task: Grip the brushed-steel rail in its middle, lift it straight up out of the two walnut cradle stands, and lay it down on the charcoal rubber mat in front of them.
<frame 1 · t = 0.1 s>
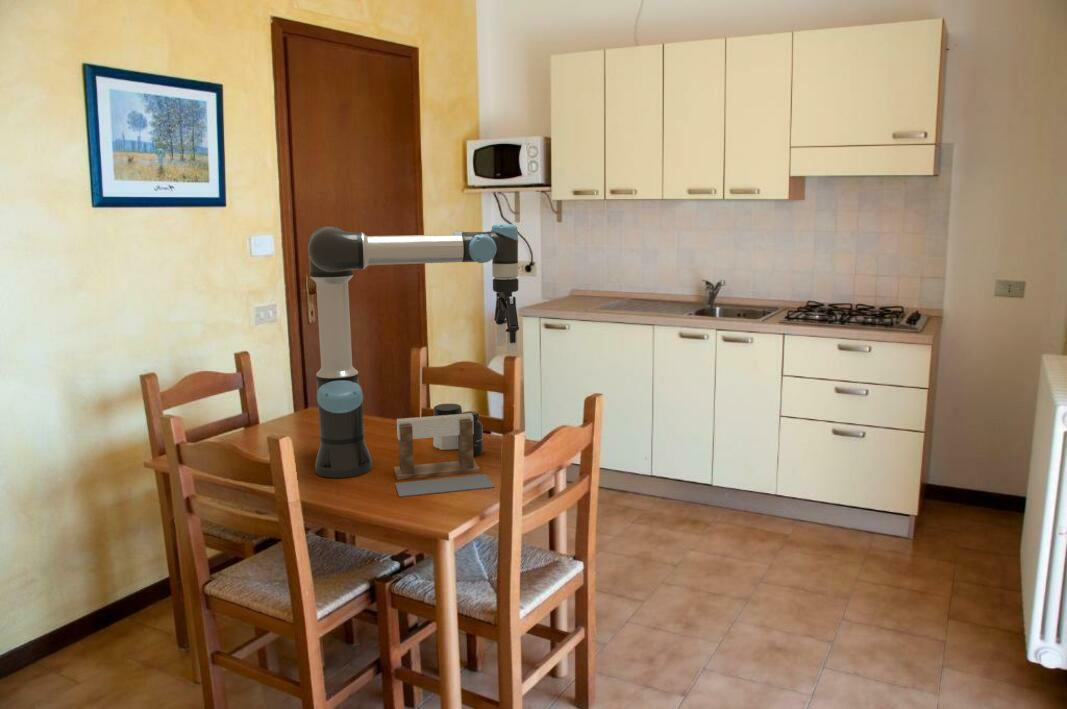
hand: (506, 349, 250), 28 cm above the table, tool pointing down, fingers open, 13 cm apart
supplement bottle: (471, 454, 243), on the table
mat: (444, 485, 216), on the table
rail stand: (436, 471, 228), on the table
rail: (435, 435, 226), point 10 cm above the table, touching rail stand
jar: (448, 446, 250), on the table
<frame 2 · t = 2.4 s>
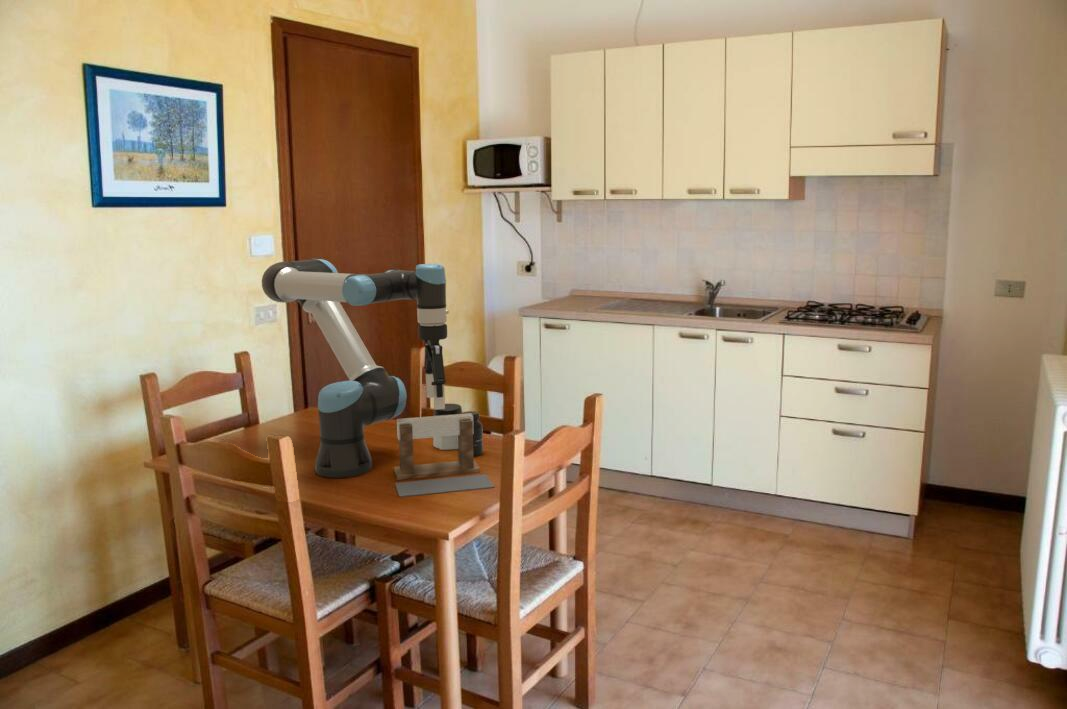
hand: (435, 403, 224), 19 cm above the table, tool pointing down, fingers open, 13 cm apart
nothing on the table moved.
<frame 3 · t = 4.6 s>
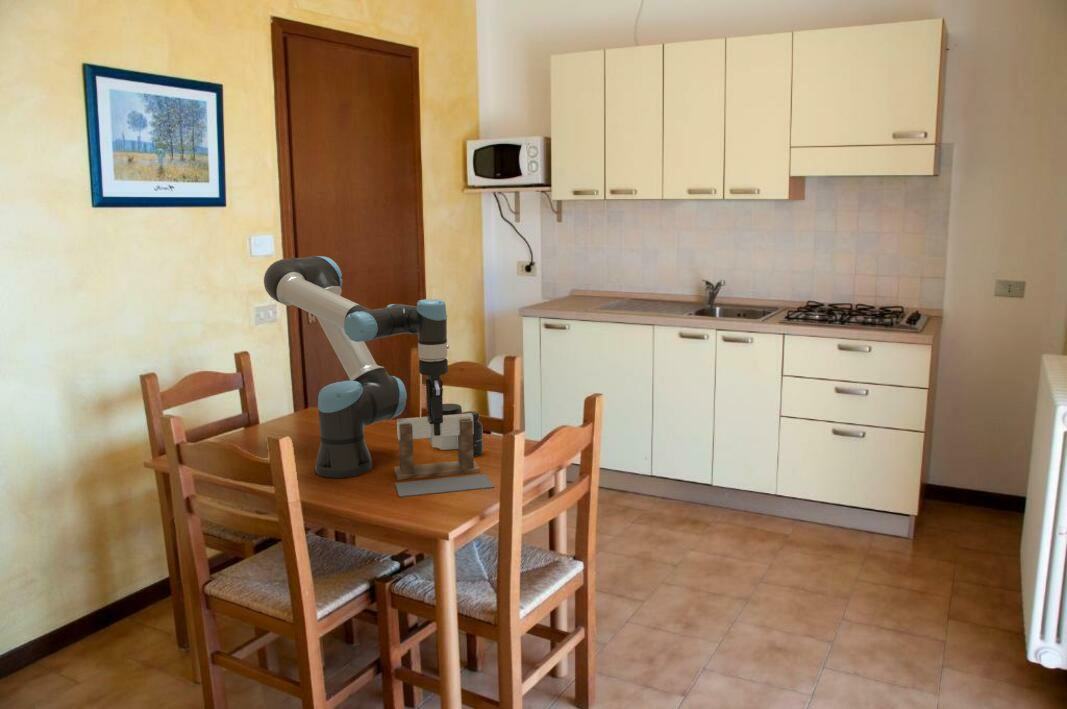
hand: (435, 444, 226), 8 cm above the table, tool pointing down, fingers closed on rail, 3 cm apart
rail: (435, 435, 226), point 10 cm above the table, touching gripper, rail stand
everything else where it was.
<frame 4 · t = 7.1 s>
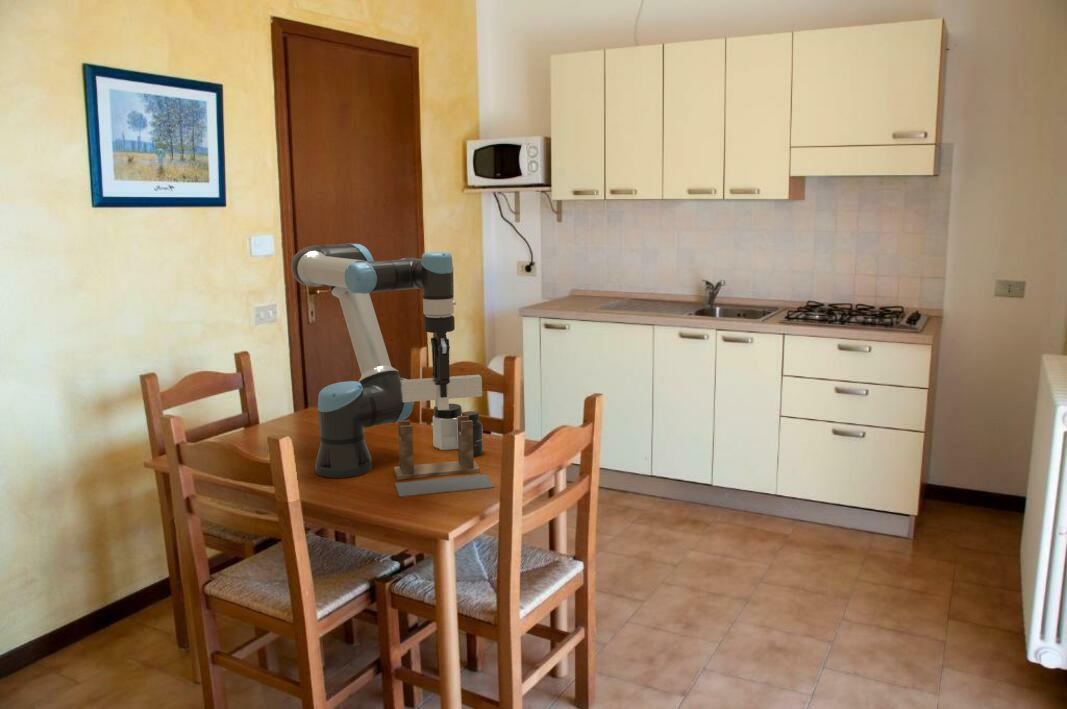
hand: (442, 407, 213), 21 cm above the table, tool pointing down, fingers closed on rail, 3 cm apart
rail: (441, 397, 212), point 23 cm above the table, touching gripper
everything else where it was.
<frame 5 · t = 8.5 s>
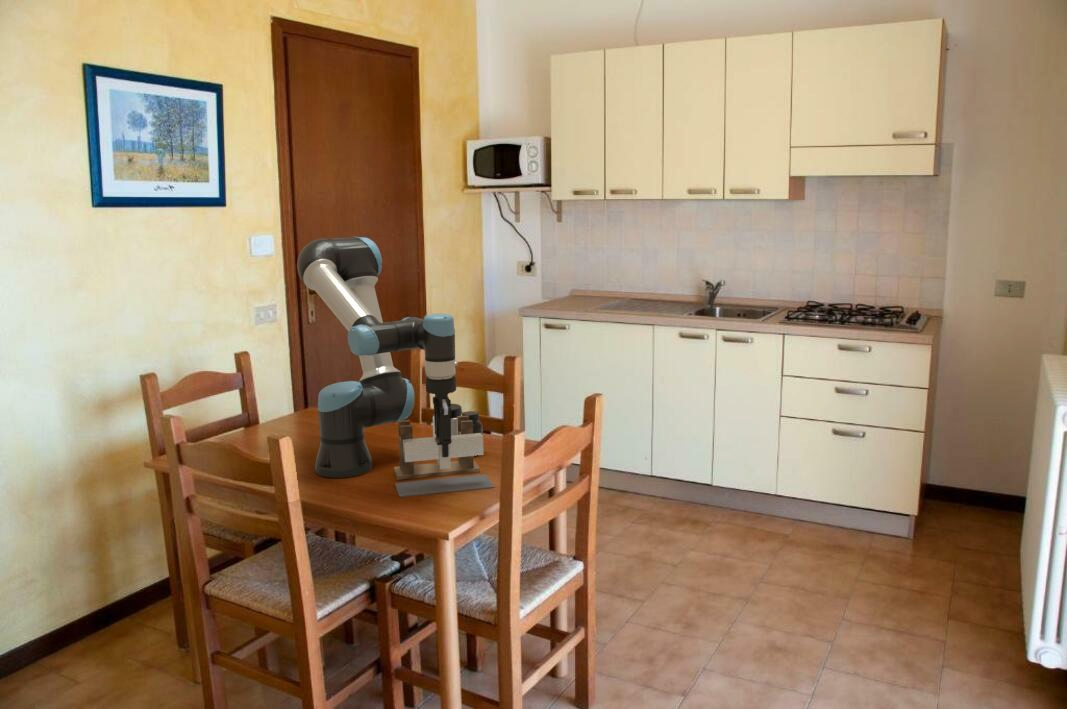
hand: (443, 466, 215), 5 cm above the table, tool pointing down, fingers closed on rail, 3 cm apart
rail: (443, 456, 215), point 8 cm above the table, touching gripper
everything else where it was.
when the fingers open (1 cm above the table, at t = 9.6 s): rail drops 3 cm, resting on mat.
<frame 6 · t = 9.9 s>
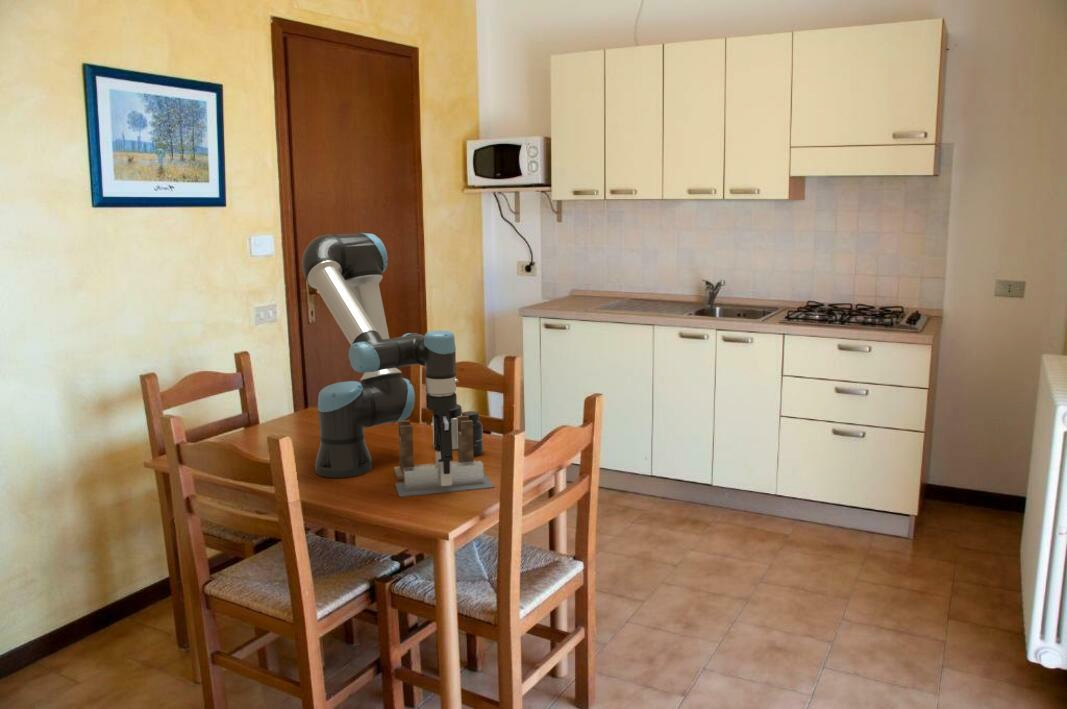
hand: (443, 480, 216), 2 cm above the table, tool pointing down, fingers open, 7 cm apart
rail: (444, 484, 216), resting on mat
everything else where it was.
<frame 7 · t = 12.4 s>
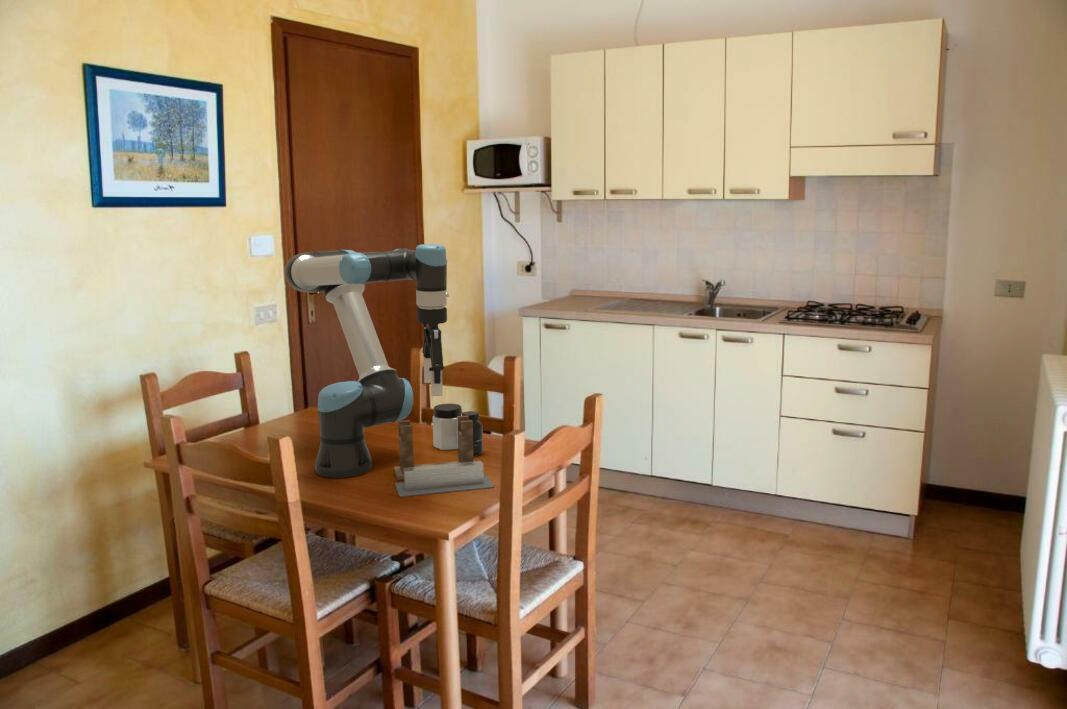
hand: (433, 389, 216), 24 cm above the table, tool pointing down, fingers open, 13 cm apart
nothing on the table moved.
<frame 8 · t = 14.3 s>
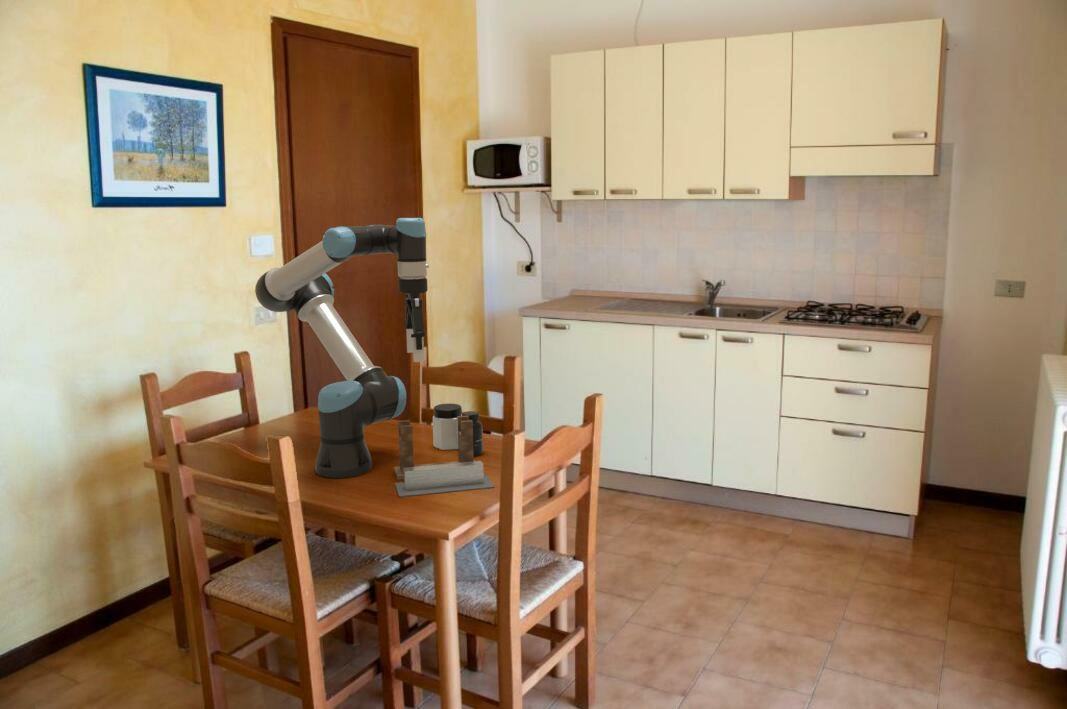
hand: (415, 357, 226), 31 cm above the table, tool pointing down, fingers open, 13 cm apart
nothing on the table moved.
at the end: rail inside the target area (0.0 cm from its centre), resting on mat; rail touching mat; the gripper is holding nothing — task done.
